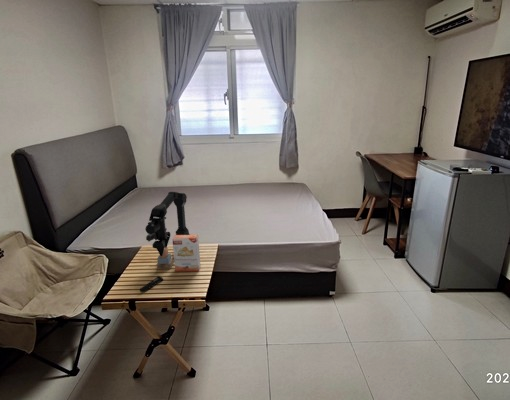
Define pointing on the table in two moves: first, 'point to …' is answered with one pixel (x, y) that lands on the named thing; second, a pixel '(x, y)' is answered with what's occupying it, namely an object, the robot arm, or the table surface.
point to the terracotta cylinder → (165, 253)
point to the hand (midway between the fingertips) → (163, 252)
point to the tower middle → (164, 259)
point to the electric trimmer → (151, 283)
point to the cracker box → (186, 252)
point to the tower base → (165, 265)
